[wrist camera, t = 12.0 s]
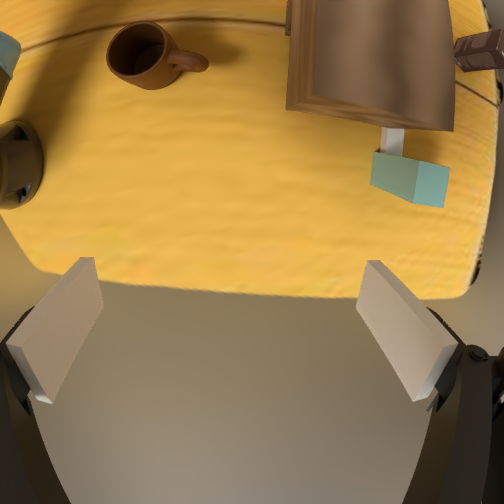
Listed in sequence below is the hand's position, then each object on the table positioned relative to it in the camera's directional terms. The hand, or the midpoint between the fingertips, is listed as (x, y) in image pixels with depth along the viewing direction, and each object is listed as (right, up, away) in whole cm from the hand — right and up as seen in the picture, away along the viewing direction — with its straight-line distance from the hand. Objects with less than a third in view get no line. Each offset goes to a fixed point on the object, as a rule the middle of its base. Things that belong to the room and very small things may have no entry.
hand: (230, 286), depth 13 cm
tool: (+21, +20, +24) cm, 38 cm away
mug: (-10, +26, +19) cm, 34 cm away
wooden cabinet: (+12, +28, +20) cm, 36 cm away
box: (+38, +36, +18) cm, 55 cm away
